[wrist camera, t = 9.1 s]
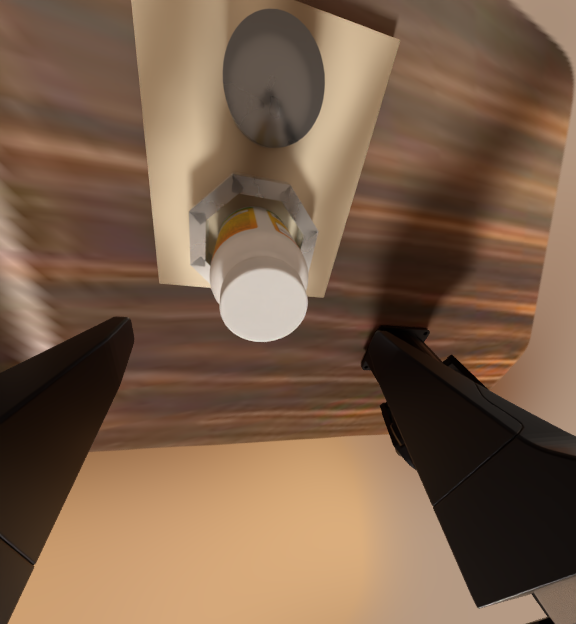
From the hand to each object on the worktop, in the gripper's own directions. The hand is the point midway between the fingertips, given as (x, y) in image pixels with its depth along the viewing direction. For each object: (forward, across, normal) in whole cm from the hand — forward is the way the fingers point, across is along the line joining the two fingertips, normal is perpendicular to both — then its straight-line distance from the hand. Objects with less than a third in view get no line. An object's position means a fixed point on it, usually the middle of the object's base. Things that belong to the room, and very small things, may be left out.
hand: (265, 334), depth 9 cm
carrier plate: (+13, 0, -4) cm, 13 cm away
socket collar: (+13, 0, 0) cm, 13 cm away
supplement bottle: (+12, 0, 0) cm, 12 cm away
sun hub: (+13, 0, -8) cm, 15 cm away
